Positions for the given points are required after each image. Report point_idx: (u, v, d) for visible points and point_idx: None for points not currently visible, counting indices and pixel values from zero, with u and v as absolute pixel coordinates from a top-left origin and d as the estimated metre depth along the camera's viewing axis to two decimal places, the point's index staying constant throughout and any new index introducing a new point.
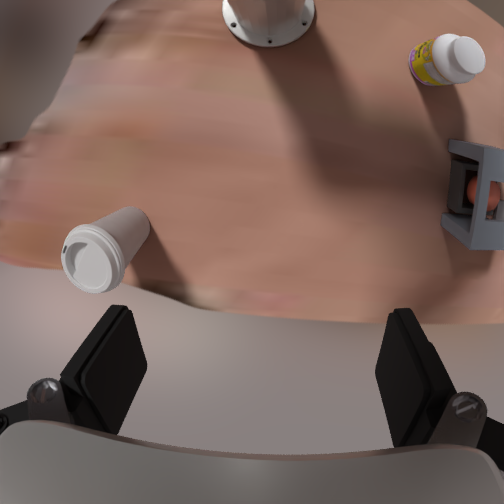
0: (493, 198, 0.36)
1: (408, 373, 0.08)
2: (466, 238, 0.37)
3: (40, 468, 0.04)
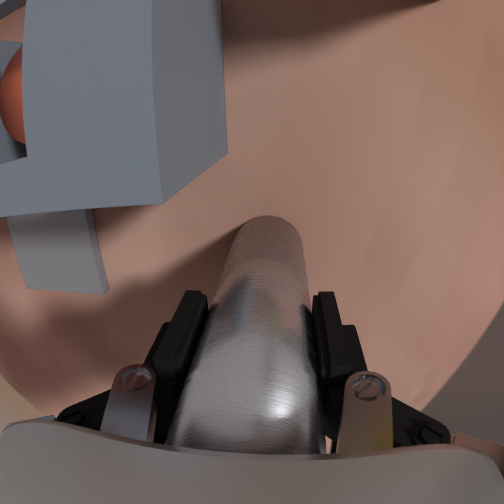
0: None
1: (318, 350, 0.09)
2: None
3: (40, 468, 0.04)
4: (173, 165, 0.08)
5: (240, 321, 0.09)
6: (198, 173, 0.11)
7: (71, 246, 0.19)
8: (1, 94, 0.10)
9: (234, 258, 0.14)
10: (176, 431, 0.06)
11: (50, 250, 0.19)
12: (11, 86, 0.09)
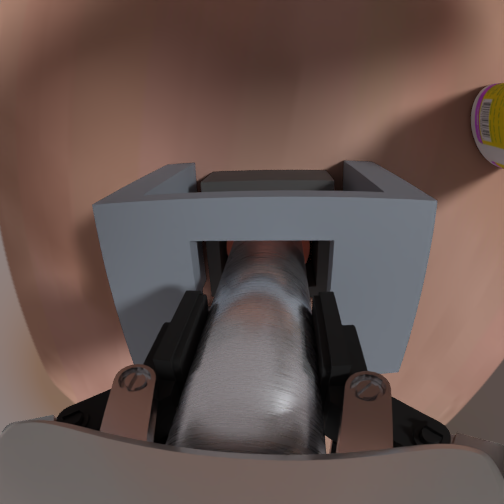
0: None
1: (318, 350, 0.09)
2: (128, 194, 0.13)
3: (40, 468, 0.04)
4: None
5: (240, 323, 0.09)
6: None
7: None
8: (229, 242, 0.19)
9: (234, 259, 0.14)
10: (176, 432, 0.06)
11: None
12: None
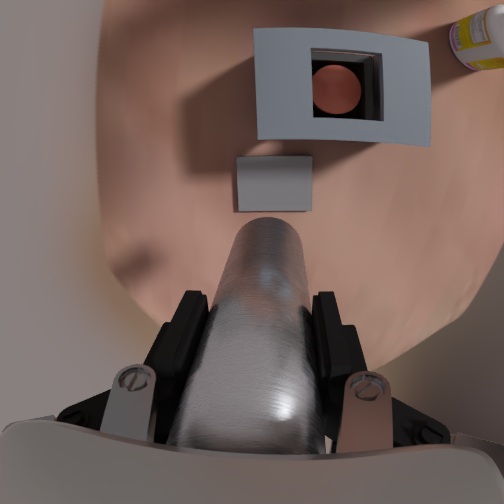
0: (332, 99, 0.26)
1: (318, 350, 0.09)
2: None
3: (40, 468, 0.04)
4: None
5: (240, 324, 0.09)
6: None
7: (295, 178, 0.33)
8: (312, 84, 0.26)
9: (234, 260, 0.14)
10: (177, 434, 0.06)
11: (276, 181, 0.34)
12: (321, 83, 0.26)
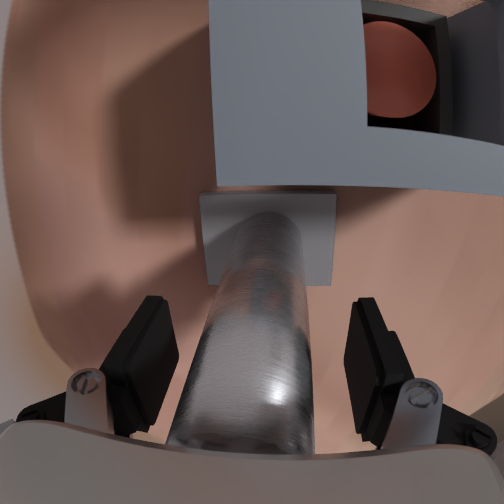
0: (385, 87, 0.12)
1: (365, 359, 0.09)
2: None
3: (40, 468, 0.04)
4: None
5: (239, 317, 0.10)
6: None
7: (305, 233, 0.19)
8: None
9: (236, 255, 0.15)
10: (180, 416, 0.07)
11: None
12: None
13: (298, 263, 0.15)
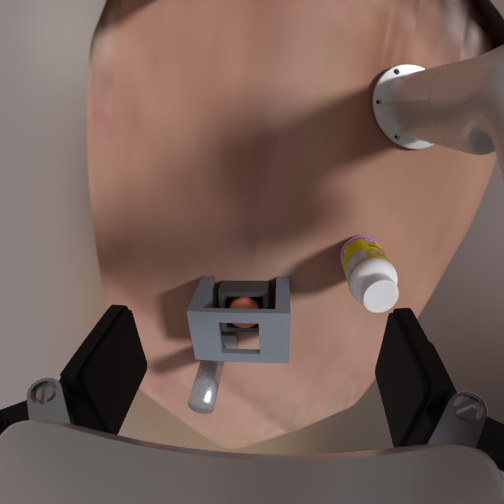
0: None
1: (408, 373, 0.08)
2: (196, 305, 0.44)
3: (40, 468, 0.04)
4: None
5: (202, 377, 0.47)
6: None
7: (227, 346, 0.57)
8: None
9: None
10: (191, 395, 0.45)
11: None
12: None
13: (220, 361, 0.52)
